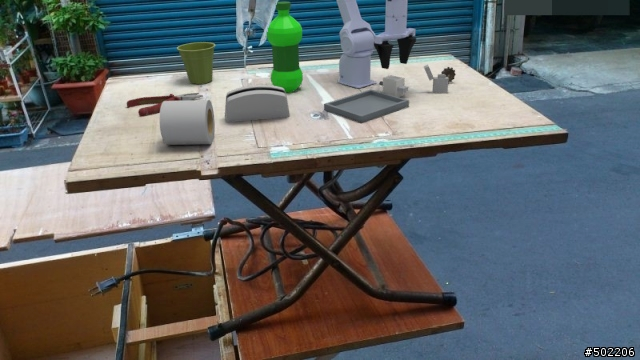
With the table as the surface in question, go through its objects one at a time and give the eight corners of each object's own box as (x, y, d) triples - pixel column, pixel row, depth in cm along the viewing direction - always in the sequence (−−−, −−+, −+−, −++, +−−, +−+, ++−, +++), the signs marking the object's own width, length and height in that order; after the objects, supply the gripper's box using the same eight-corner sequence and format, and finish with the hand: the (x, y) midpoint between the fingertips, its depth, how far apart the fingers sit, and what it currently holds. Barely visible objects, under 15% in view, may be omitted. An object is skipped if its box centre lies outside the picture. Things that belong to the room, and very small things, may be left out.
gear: (453, 82, 164) (455, 65, 161) (455, 82, 163) (456, 66, 161) (439, 83, 162) (440, 67, 160) (440, 84, 161) (442, 68, 159)
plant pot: (205, 74, 178) (201, 40, 173) (226, 80, 171) (223, 45, 166) (174, 82, 171) (169, 46, 166) (195, 89, 163) (190, 52, 158)
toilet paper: (164, 151, 120) (156, 109, 116) (174, 135, 129) (168, 95, 125) (208, 150, 120) (203, 108, 116) (216, 134, 129) (211, 94, 125)
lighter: (446, 91, 155) (449, 64, 152) (447, 93, 154) (449, 65, 150) (421, 91, 156) (423, 64, 152) (422, 93, 154) (424, 65, 151)
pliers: (210, 103, 152) (209, 94, 151) (140, 119, 142) (139, 109, 140) (192, 94, 160) (191, 85, 159) (126, 108, 150) (124, 99, 149)
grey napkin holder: (287, 110, 144) (287, 79, 136) (290, 121, 140) (290, 90, 133) (224, 115, 141) (221, 84, 134) (225, 127, 138) (222, 95, 131)
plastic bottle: (304, 84, 165) (301, -1, 154) (304, 94, 156) (300, 4, 145) (271, 85, 165) (266, 0, 154) (269, 95, 156) (263, 5, 145)
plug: (376, 92, 156) (376, 75, 154) (384, 90, 158) (385, 73, 156) (401, 99, 149) (401, 82, 147) (409, 97, 152) (410, 79, 149)
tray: (324, 110, 143) (323, 103, 142) (370, 95, 153) (371, 89, 153) (361, 123, 133) (361, 116, 132) (408, 106, 144) (409, 100, 143)
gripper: (389, 20, 137) (387, 73, 143) (425, 13, 145) (422, 63, 151) (369, 17, 142) (368, 68, 148) (405, 11, 150) (403, 59, 156)
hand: (394, 65), depth 150 cm, fingers open, 7 cm apart
